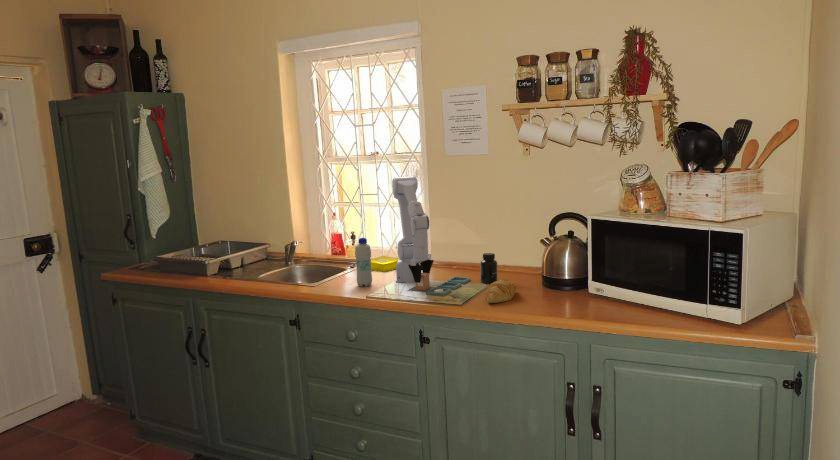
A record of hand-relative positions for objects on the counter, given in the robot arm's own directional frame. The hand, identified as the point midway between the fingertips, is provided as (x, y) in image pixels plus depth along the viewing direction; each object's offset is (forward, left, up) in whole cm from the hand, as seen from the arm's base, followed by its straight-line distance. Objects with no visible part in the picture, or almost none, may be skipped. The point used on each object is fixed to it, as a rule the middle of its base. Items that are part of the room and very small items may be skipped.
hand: (421, 280), depth 226 cm
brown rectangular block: (0, 0, -3) cm, 3 cm away
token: (+9, -4, -3) cm, 11 cm away
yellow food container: (-37, +34, -5) cm, 50 cm away
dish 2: (+9, +6, -4) cm, 11 cm away
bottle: (-26, -1, -4) cm, 26 cm away
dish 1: (+9, -4, -4) cm, 11 cm away
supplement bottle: (+21, +19, -4) cm, 29 cm away
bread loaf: (+33, -2, -4) cm, 33 cm away
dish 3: (+9, +16, -4) cm, 19 cm away
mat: (0, 0, -4) cm, 4 cm away
